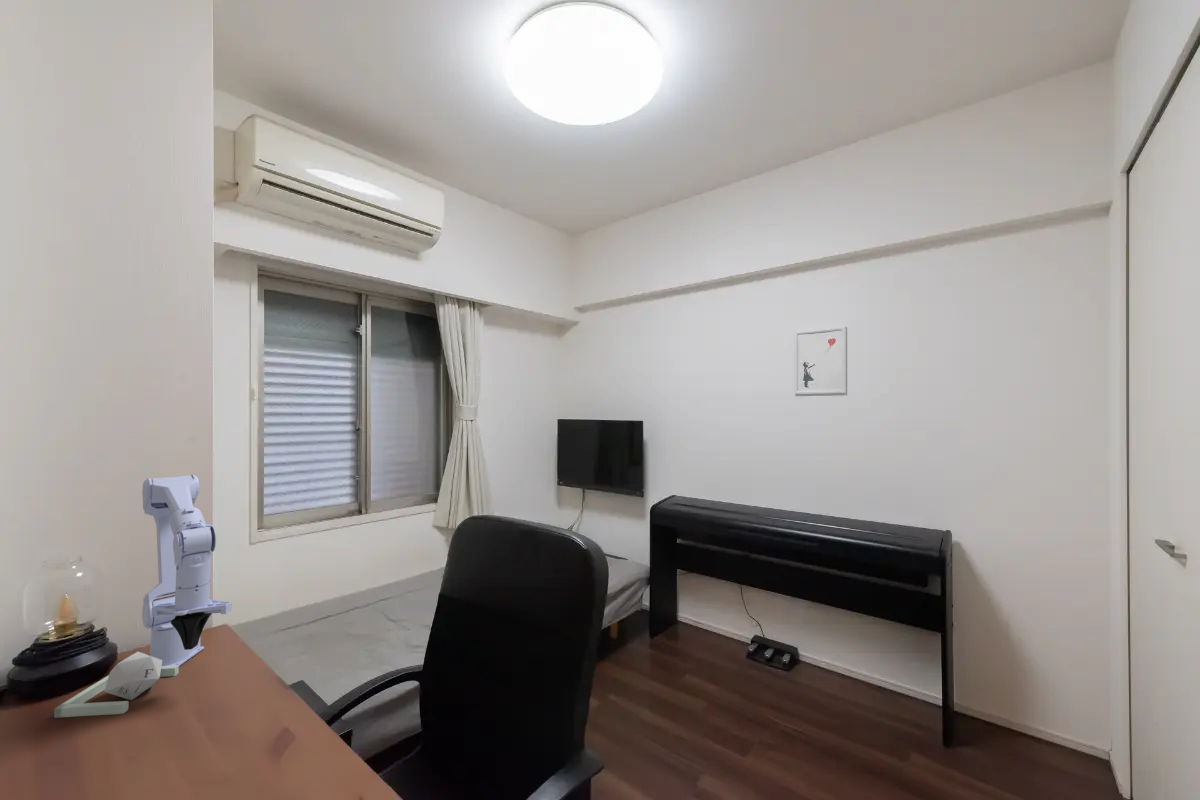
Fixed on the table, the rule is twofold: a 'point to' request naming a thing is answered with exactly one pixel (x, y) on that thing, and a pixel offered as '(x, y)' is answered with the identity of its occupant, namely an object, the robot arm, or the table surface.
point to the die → (133, 675)
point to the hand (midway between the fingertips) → (191, 647)
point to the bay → (80, 708)
